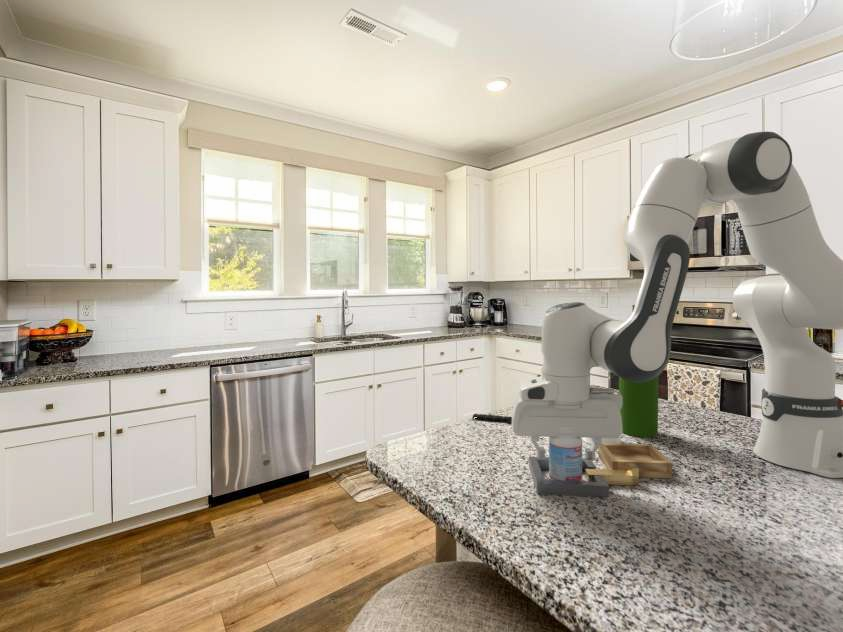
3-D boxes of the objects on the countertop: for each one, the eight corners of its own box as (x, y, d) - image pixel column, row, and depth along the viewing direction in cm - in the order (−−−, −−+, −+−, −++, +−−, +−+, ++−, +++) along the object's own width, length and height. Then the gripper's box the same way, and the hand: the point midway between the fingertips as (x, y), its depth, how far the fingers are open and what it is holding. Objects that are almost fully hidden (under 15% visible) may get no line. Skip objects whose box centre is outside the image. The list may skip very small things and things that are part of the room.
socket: (590, 467, 88) (590, 458, 88) (608, 496, 76) (608, 486, 75) (528, 466, 89) (528, 456, 89) (537, 494, 77) (537, 483, 77)
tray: (651, 457, 92) (651, 444, 92) (672, 478, 82) (672, 463, 82) (598, 456, 94) (598, 443, 93) (612, 476, 84) (612, 461, 84)
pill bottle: (572, 490, 78) (572, 430, 78) (542, 480, 83) (542, 423, 82) (588, 480, 82) (588, 423, 82) (559, 470, 87) (559, 416, 86)
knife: (565, 419, 117) (564, 425, 112) (565, 425, 117) (564, 431, 112) (475, 412, 126) (471, 416, 121) (475, 417, 126) (471, 422, 121)
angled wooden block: (633, 479, 82) (633, 463, 82) (638, 485, 80) (638, 468, 79) (585, 477, 83) (585, 461, 83) (588, 483, 81) (588, 467, 81)
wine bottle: (652, 427, 112) (653, 304, 110) (662, 438, 104) (664, 305, 102) (615, 425, 115) (616, 304, 113) (622, 436, 106) (623, 305, 104)
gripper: (616, 384, 83) (616, 453, 84) (510, 383, 86) (510, 450, 87) (628, 392, 77) (627, 466, 78) (513, 390, 79) (513, 463, 80)
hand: (565, 458), depth 82 cm, fingers open, 8 cm apart
